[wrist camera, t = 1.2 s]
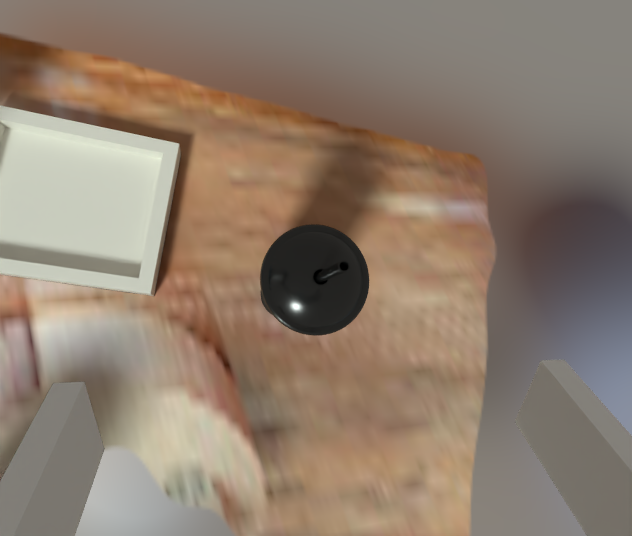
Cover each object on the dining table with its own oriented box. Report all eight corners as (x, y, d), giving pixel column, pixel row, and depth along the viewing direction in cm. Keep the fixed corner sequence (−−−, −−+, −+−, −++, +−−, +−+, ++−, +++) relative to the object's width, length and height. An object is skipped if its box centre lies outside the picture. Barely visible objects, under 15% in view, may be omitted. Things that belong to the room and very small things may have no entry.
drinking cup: (247, 253, 42) (277, 190, 23) (323, 258, 44) (409, 204, 25) (243, 331, 41) (270, 335, 22) (321, 333, 43) (409, 339, 24)
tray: (-44, 268, 36) (-62, 264, 34) (-3, 115, 39) (-17, 101, 36) (154, 296, 40) (150, 294, 37) (181, 154, 42) (179, 143, 40)
